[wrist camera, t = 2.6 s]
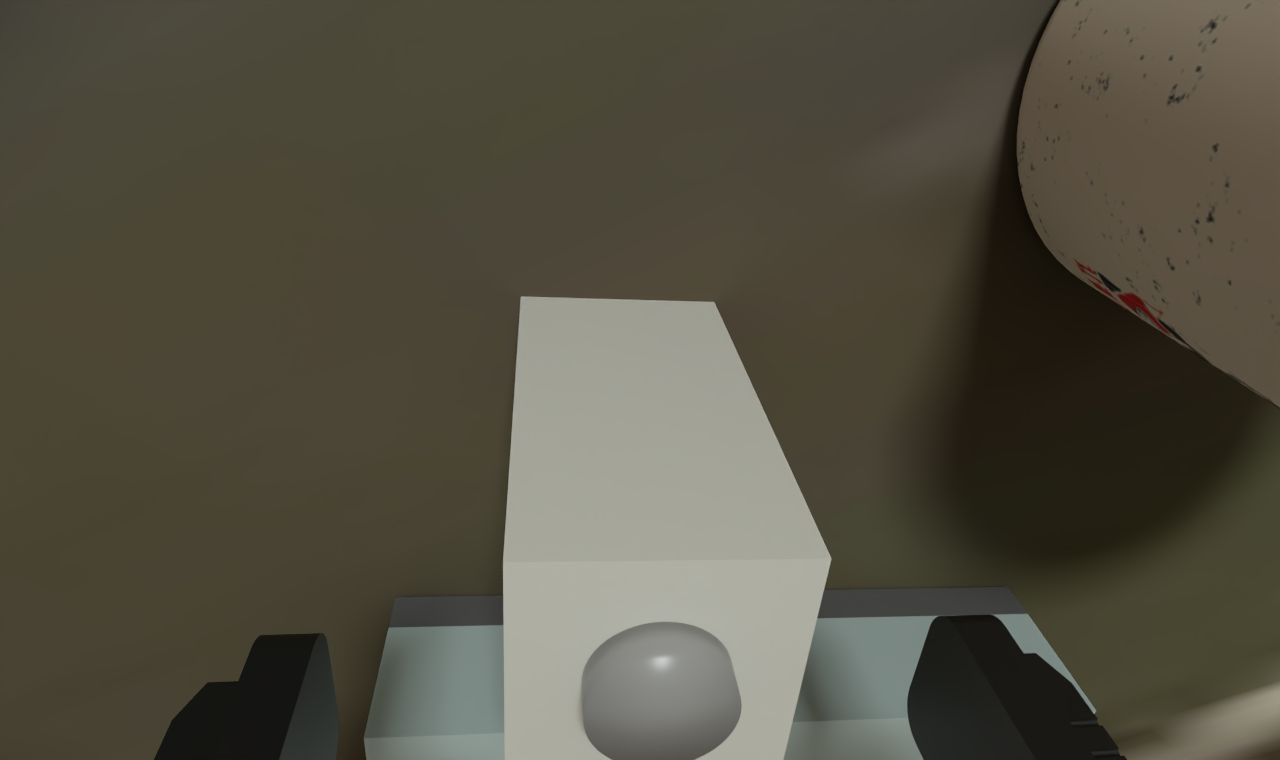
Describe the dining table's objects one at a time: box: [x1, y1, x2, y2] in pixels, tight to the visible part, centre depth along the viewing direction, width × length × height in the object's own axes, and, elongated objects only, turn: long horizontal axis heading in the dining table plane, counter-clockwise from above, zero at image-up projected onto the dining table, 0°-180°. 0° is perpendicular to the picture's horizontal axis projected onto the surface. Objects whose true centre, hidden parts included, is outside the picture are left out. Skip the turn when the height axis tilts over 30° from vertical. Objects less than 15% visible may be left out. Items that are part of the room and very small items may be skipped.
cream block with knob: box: [503, 297, 831, 760], centre depth 14 cm, size 4×4×9 cm
